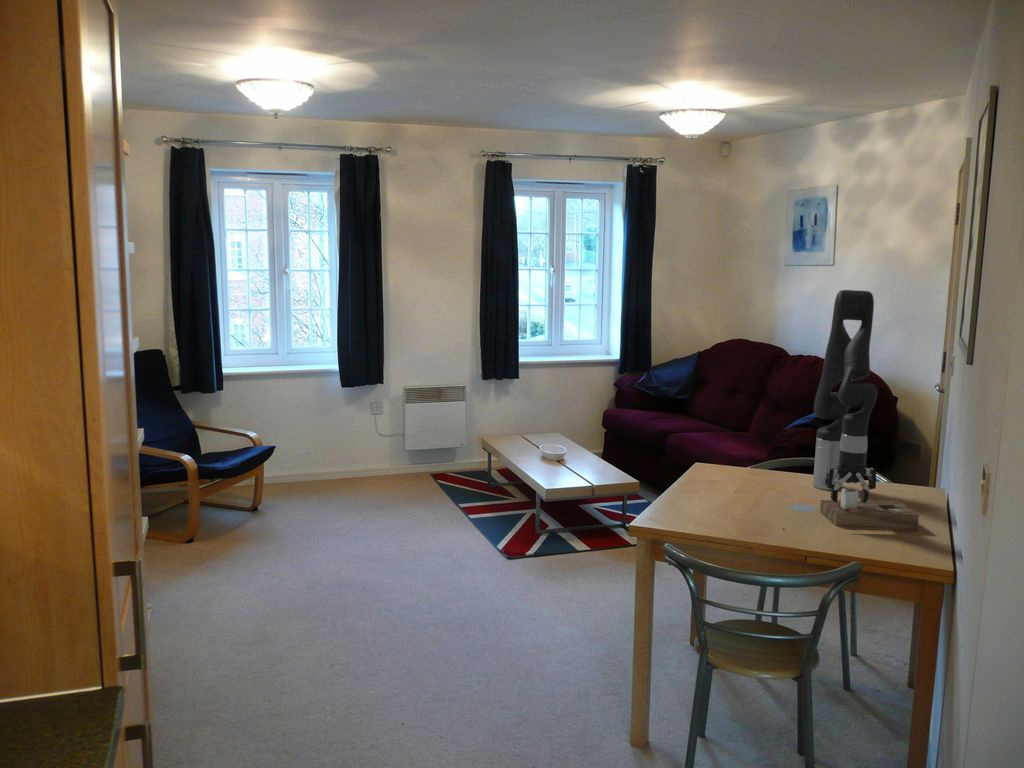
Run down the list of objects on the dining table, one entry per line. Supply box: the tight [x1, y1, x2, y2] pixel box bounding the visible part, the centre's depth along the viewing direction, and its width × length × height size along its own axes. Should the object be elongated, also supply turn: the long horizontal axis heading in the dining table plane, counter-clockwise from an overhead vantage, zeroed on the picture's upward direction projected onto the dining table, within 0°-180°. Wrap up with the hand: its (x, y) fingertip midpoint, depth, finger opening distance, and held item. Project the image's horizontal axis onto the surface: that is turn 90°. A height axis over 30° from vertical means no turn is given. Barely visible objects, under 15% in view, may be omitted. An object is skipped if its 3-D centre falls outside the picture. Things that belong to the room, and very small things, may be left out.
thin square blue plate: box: [788, 504, 819, 513], centre depth 266 cm, size 7×7×1 cm
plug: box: [840, 486, 859, 509], centre depth 255 cm, size 4×4×10 cm
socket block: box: [819, 499, 920, 532], centre depth 255 cm, size 13×24×5 cm, turn 89°
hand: (848, 501), depth 255 cm, fingers open, 8 cm apart
